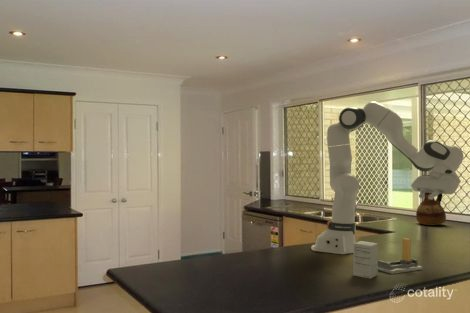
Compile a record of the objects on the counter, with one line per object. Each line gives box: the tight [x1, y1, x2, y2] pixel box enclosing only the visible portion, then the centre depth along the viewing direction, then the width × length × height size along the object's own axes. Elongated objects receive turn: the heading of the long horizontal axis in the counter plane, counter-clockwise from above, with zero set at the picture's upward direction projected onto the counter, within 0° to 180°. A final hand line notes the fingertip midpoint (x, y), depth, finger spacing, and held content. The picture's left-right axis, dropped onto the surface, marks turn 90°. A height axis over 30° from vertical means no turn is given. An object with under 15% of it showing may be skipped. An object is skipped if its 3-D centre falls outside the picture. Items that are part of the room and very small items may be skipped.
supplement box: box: [352, 240, 379, 279], centre depth 168 cm, size 7×7×13 cm
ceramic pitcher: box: [415, 192, 447, 226], centre depth 316 cm, size 20×20×30 cm
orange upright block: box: [399, 237, 412, 264], centre depth 182 cm, size 4×3×11 cm
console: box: [378, 257, 424, 275], centre depth 179 cm, size 18×10×4 cm, turn 118°
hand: (425, 198), depth 187 cm, fingers open, 3 cm apart
